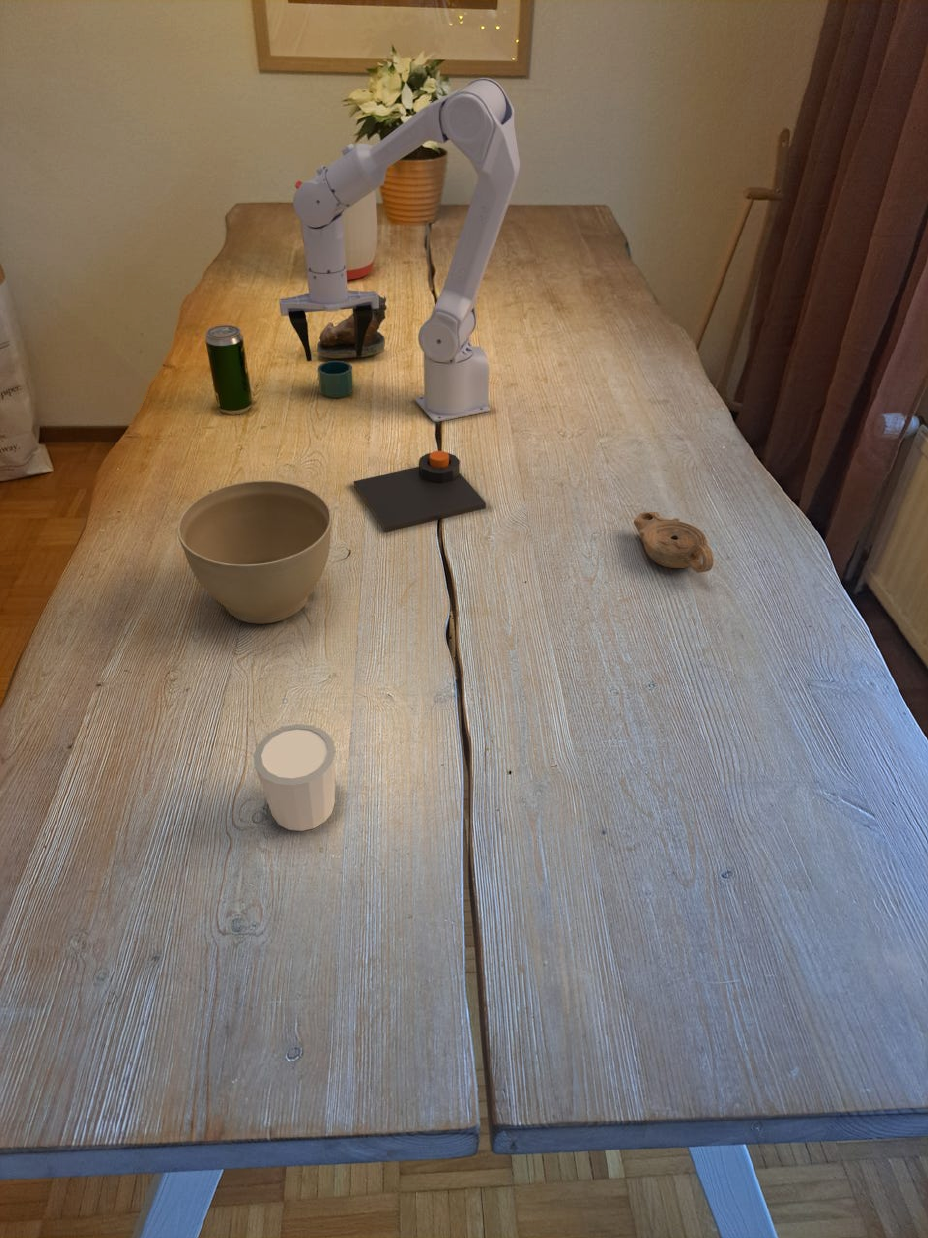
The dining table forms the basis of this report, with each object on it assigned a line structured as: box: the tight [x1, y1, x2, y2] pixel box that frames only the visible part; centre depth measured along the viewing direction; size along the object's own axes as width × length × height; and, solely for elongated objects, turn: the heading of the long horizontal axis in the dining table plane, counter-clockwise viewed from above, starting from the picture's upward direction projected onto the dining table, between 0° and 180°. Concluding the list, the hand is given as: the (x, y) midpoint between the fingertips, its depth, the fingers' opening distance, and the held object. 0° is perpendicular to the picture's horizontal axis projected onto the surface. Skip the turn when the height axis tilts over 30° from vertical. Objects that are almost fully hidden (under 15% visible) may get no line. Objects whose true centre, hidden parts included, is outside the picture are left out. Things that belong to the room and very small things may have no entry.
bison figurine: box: [316, 294, 388, 359], centre depth 151 cm, size 12×7×10 cm, turn 98°
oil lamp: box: [633, 511, 714, 573], centre depth 109 cm, size 13×8×5 cm, turn 23°
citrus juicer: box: [294, 180, 378, 282], centre depth 179 cm, size 16×17×20 cm
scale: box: [352, 451, 487, 533], centre depth 120 cm, size 14×12×2 cm
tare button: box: [430, 450, 449, 468], centre depth 122 cm, size 3×3×1 cm
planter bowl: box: [176, 479, 333, 624], centre depth 100 cm, size 16×16×11 cm
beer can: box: [204, 324, 253, 416], centre depth 136 cm, size 5×5×12 cm
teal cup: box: [316, 360, 354, 399], centre depth 143 cm, size 5×5×4 cm
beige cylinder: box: [253, 723, 337, 832], centre depth 79 cm, size 7×7×7 cm
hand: (333, 356), depth 140 cm, fingers open, 7 cm apart
